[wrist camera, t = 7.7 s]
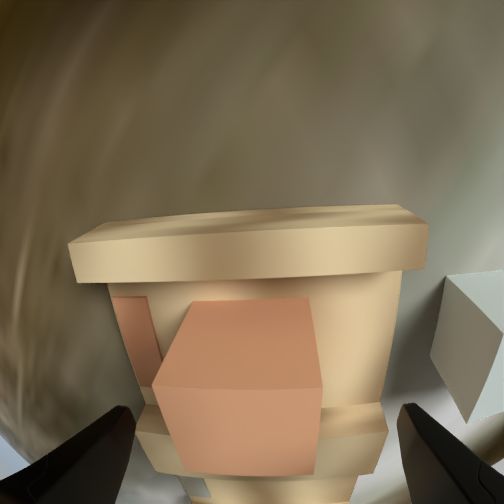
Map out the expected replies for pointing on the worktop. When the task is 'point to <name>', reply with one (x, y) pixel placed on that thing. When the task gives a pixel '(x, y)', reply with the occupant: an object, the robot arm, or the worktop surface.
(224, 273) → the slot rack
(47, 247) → the worktop surface
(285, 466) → the terracotta block
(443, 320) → the blue-grey block
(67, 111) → the worktop surface
